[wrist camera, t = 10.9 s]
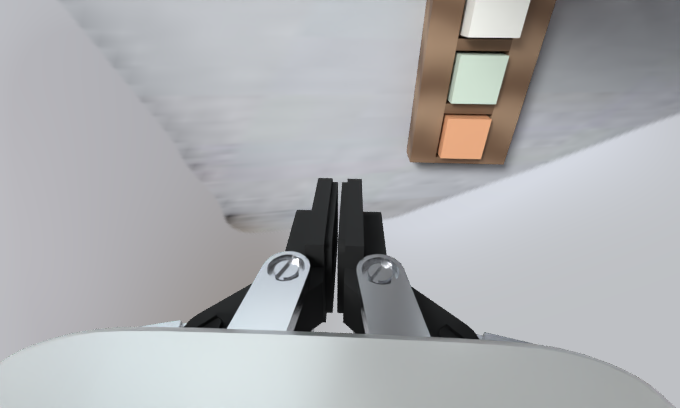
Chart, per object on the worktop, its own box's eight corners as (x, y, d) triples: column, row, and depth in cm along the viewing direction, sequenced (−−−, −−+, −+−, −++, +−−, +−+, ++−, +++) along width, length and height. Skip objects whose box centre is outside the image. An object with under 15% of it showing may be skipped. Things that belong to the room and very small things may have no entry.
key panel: (431, -35, 29) (438, -39, 27) (549, -35, 29) (568, -38, 27) (406, 152, 40) (410, 162, 37) (493, 154, 39) (503, 164, 37)
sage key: (452, 51, 33) (460, 55, 30) (497, 51, 32) (509, 55, 30) (444, 96, 35) (451, 103, 32) (485, 97, 35) (495, 104, 32)
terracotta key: (441, 110, 36) (448, 118, 33) (482, 111, 36) (491, 119, 33) (434, 148, 38) (440, 158, 36) (472, 148, 38) (480, 159, 36)
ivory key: (469, -24, 28) (481, -26, 26) (521, -23, 28) (537, -26, 26) (458, 34, 31) (468, 37, 28) (506, 35, 31) (519, 37, 28)
